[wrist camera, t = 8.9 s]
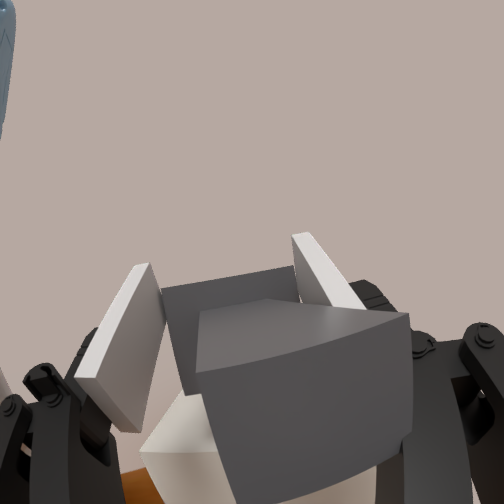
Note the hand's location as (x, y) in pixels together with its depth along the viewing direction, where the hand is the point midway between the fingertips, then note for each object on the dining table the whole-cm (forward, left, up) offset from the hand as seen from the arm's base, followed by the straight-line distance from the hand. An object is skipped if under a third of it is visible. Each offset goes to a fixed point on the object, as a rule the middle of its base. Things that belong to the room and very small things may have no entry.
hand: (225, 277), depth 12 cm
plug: (0, 0, -5) cm, 5 cm away
